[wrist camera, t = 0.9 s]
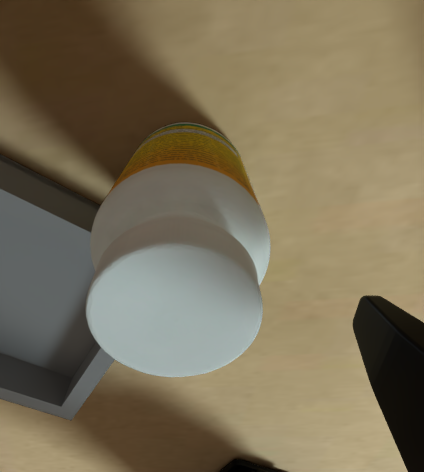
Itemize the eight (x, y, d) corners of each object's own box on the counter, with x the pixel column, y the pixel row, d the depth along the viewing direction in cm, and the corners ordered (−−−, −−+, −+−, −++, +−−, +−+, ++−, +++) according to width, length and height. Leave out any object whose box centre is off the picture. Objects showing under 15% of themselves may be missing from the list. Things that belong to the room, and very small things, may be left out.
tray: (83, 385, 23) (71, 420, 21) (-135, 310, 19) (-178, 344, 17) (178, 246, 18) (175, 273, 15) (-94, 106, 14) (-149, 116, 12)
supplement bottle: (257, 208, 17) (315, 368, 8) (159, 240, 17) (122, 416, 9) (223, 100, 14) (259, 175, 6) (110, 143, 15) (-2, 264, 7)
